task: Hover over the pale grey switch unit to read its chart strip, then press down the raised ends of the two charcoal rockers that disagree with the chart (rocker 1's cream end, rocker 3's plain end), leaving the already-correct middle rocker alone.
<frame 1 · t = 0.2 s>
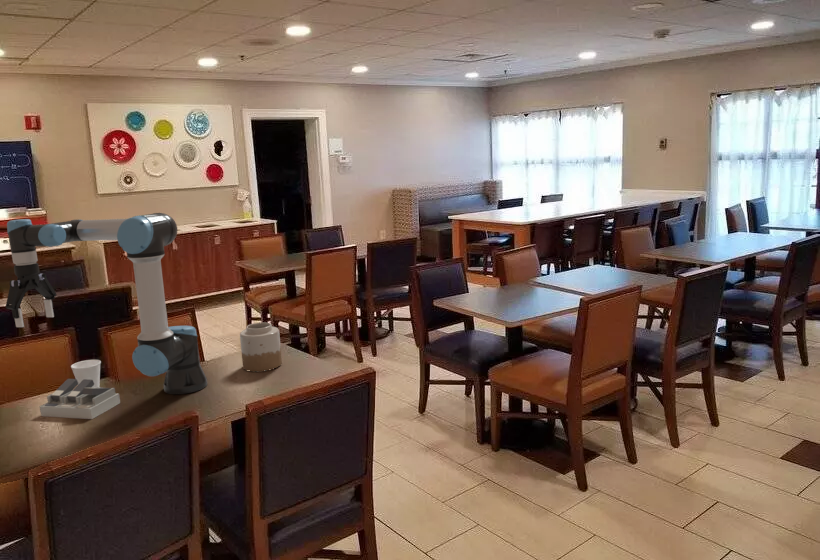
hand: (35, 322, 230), 28 cm above the table, fingers open, 13 cm apart
rocker 2: (80, 390, 220), point 7 cm above the table, hinge at -20.0°
cup: (90, 392, 236), on the table
rocker 3: (64, 389, 221), point 7 cm above the table, hinge at -20.0°
rocker 1: (97, 390, 218), point 7 cm above the table, hinge at 20.0°
vase: (262, 366, 257), on the table
switch unit: (81, 409, 220), on the table
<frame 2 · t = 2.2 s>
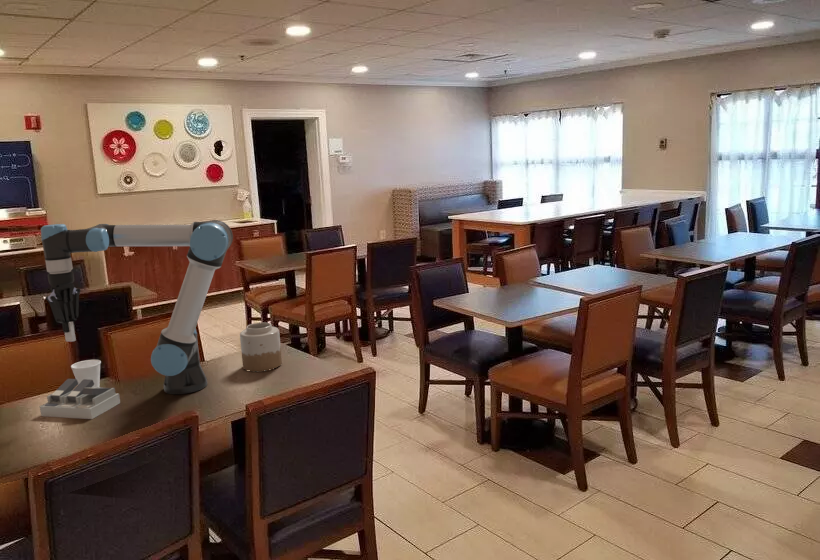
hand: (70, 340, 215), 24 cm above the table, fingers closed
nothing on the table moved.
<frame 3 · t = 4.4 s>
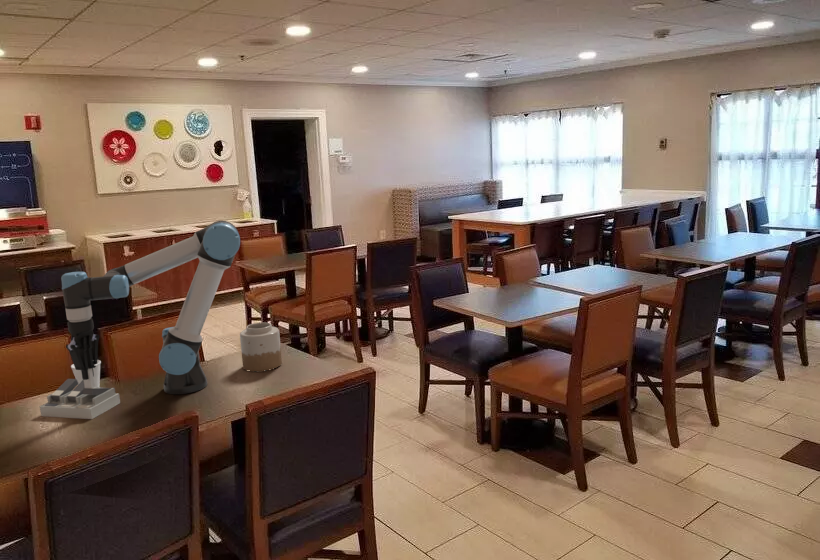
hand: (89, 387, 215), 9 cm above the table, fingers closed
rocker 1: (97, 390, 218), point 7 cm above the table, hinge at 19.9°, touching gripper
everything else where it was.
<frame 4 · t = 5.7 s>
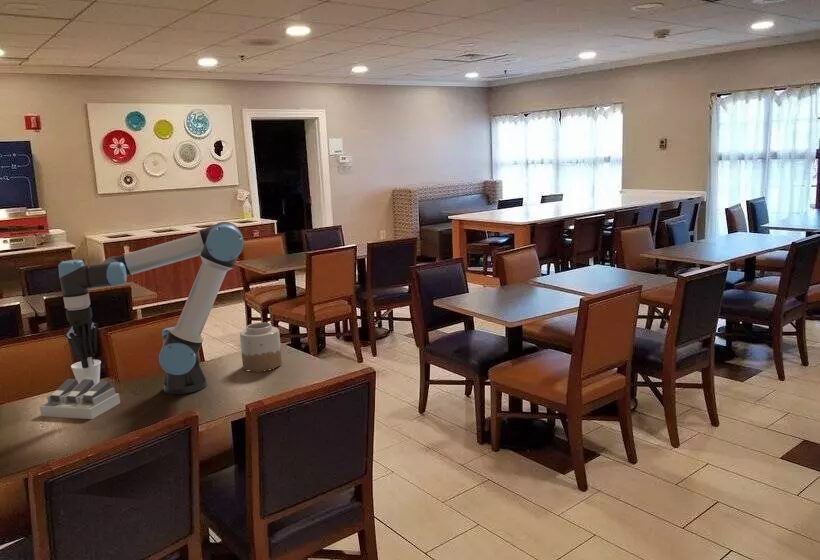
hand: (89, 376, 214), 13 cm above the table, fingers closed
rocker 1: (97, 390, 218), point 7 cm above the table, hinge at -12.4°
everything else where it was.
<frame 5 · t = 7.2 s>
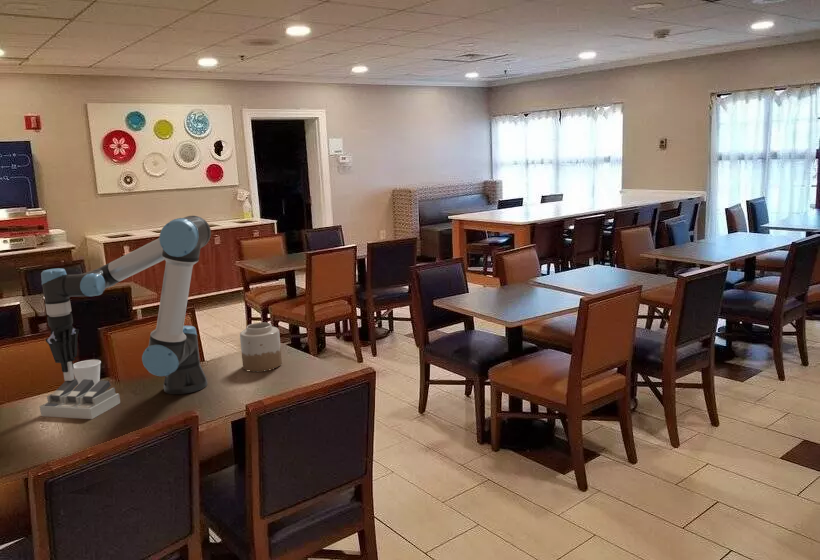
hand: (69, 379, 223), 9 cm above the table, fingers closed
rocker 3: (64, 389, 221), point 7 cm above the table, hinge at -20.0°, touching gripper
rocker 1: (97, 390, 218), point 7 cm above the table, hinge at -16.5°
everything else where it was.
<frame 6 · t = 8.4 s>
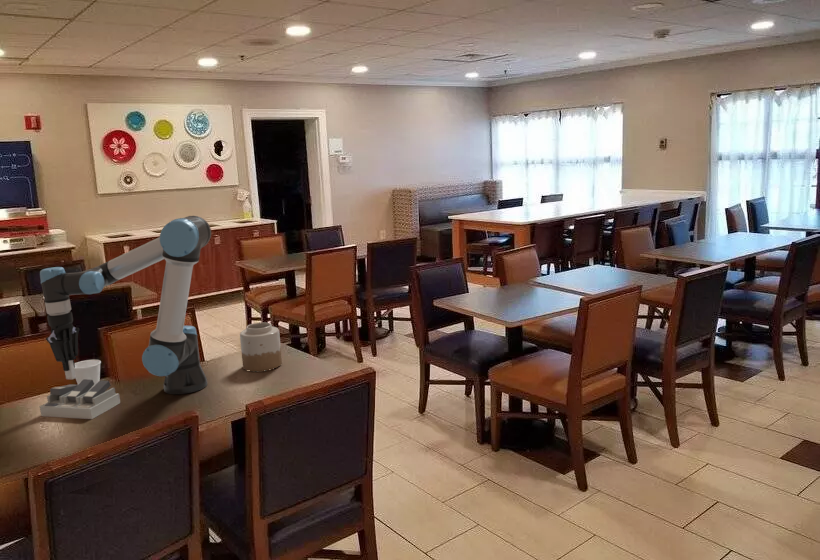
hand: (71, 378, 223), 9 cm above the table, fingers closed
rocker 3: (64, 389, 221), point 7 cm above the table, hinge at 11.6°
everything else where it was.
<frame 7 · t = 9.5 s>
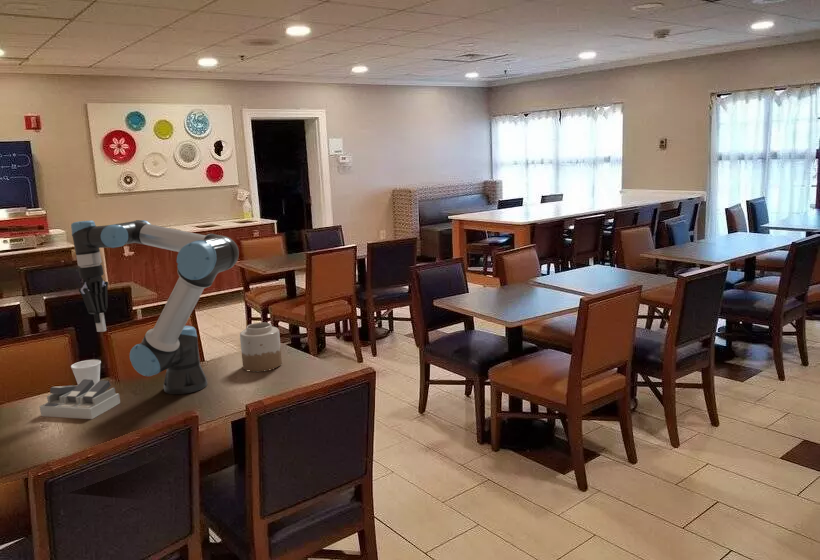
hand: (101, 331, 227), 24 cm above the table, fingers closed
rocker 3: (64, 389, 221), point 7 cm above the table, hinge at 16.2°
everything else where it was.
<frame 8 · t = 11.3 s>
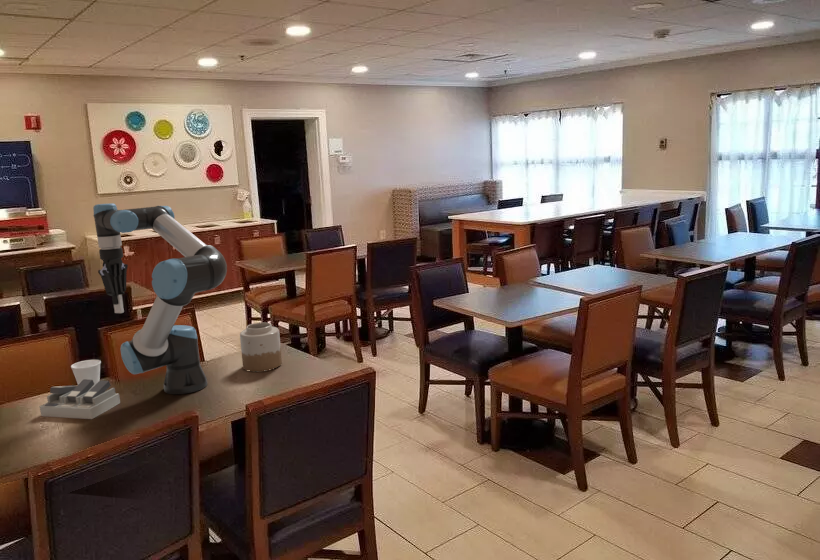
hand: (119, 312, 231), 29 cm above the table, fingers closed
rocker 3: (64, 389, 221), point 7 cm above the table, hinge at 16.8°
everything else where it was.
at the end: rocker 1 at -17° (first picture: +20°); rocker 3 at +17° (first picture: -20°); rocker 2 at -20° (first picture: -20°) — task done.
